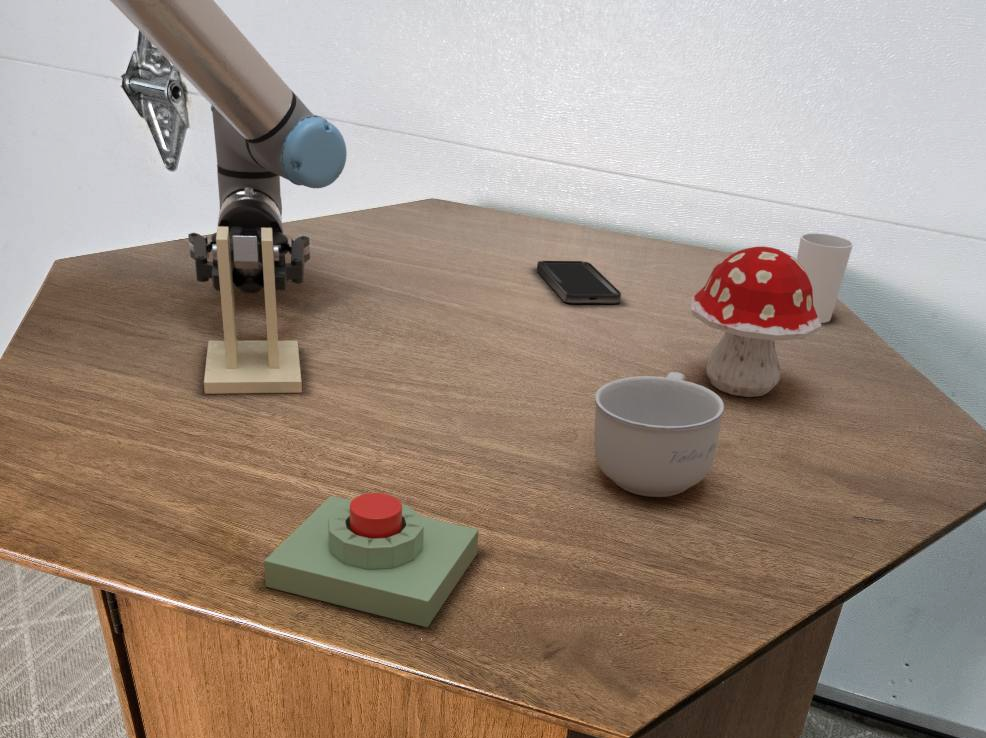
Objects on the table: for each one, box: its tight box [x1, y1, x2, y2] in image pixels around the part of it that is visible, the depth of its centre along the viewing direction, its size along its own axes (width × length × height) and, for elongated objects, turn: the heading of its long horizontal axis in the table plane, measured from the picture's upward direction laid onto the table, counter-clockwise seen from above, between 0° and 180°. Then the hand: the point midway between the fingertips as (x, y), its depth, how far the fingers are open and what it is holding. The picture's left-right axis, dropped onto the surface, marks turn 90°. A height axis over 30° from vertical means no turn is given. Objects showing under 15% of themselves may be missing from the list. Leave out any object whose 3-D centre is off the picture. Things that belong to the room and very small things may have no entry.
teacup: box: [593, 371, 725, 498], centre depth 85 cm, size 14×11×8 cm
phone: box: [536, 260, 622, 305], centre depth 133 cm, size 8×1×15 cm
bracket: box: [203, 225, 303, 395], centre depth 95 cm, size 11×9×14 cm
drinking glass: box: [796, 232, 854, 324], centre depth 129 cm, size 7×7×10 cm
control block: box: [263, 495, 479, 628], centre depth 70 cm, size 12×10×4 cm
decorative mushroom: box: [690, 246, 822, 398], centre depth 103 cm, size 14×14×15 cm
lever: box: [232, 236, 264, 295], centre depth 98 cm, size 13×4×4 cm, turn 14°
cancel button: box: [350, 492, 403, 539], centre depth 68 cm, size 4×4×2 cm
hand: (249, 293), depth 98 cm, fingers closed on lever, 4 cm apart
